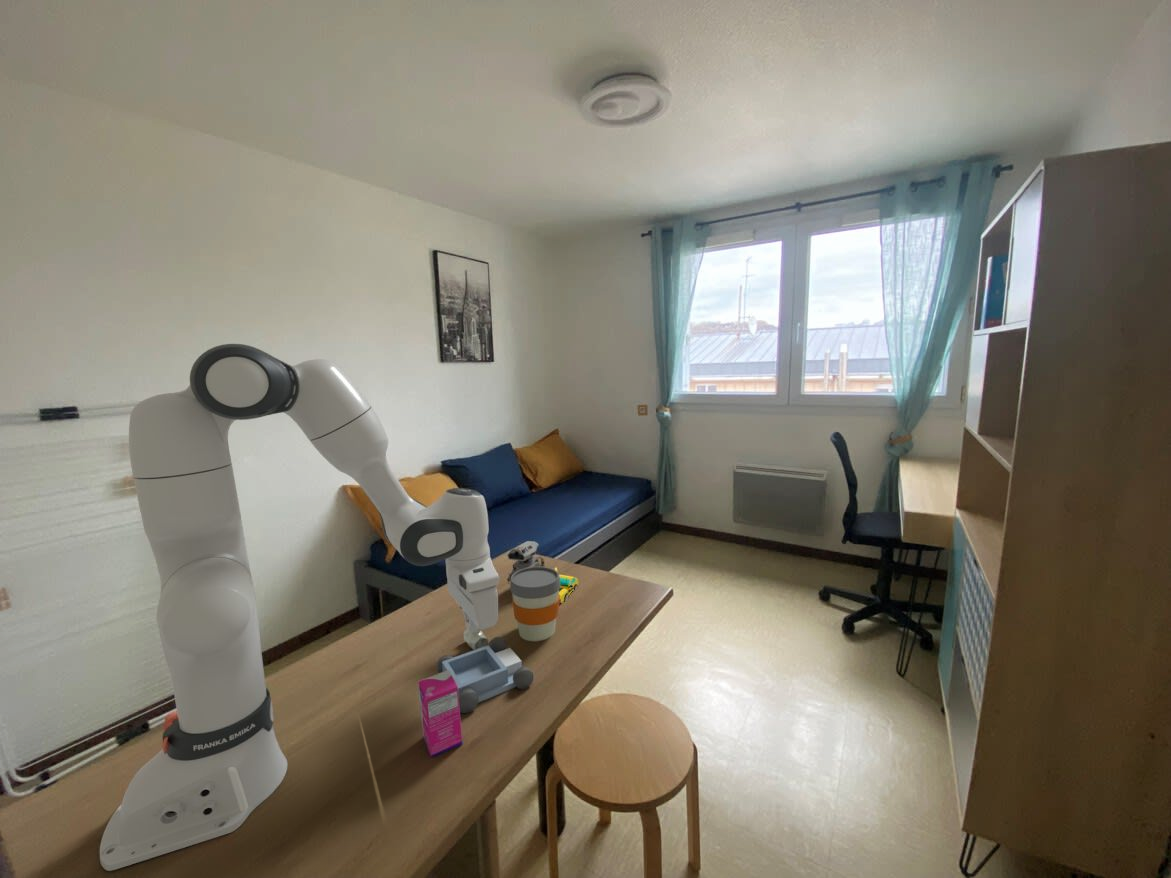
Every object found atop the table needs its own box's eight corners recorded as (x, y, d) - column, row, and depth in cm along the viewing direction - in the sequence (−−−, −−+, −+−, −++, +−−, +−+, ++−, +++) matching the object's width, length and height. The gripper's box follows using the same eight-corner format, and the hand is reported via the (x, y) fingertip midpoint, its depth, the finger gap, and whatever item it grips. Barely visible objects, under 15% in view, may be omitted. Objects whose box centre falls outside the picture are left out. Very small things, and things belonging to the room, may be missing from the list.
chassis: (459, 716, 90) (458, 696, 89) (436, 675, 102) (435, 657, 102) (533, 685, 98) (533, 666, 98) (504, 650, 111) (503, 633, 110)
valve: (468, 658, 108) (465, 609, 106) (457, 645, 113) (454, 599, 112) (494, 648, 112) (492, 601, 110) (482, 636, 117) (480, 591, 115)
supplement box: (421, 737, 85) (417, 679, 83) (454, 724, 88) (450, 668, 86) (429, 759, 80) (425, 698, 78) (463, 744, 83) (460, 685, 81)
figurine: (500, 595, 139) (498, 546, 137) (528, 581, 148) (526, 535, 145) (521, 604, 133) (519, 554, 131) (549, 589, 142) (548, 542, 140)
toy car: (558, 586, 144) (557, 560, 143) (581, 590, 141) (580, 563, 140) (540, 603, 133) (539, 576, 132) (564, 608, 130) (563, 580, 129)
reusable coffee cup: (529, 615, 127) (527, 563, 124) (570, 625, 121) (569, 570, 119) (502, 639, 115) (499, 582, 113) (545, 651, 110) (543, 591, 108)
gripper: (438, 553, 102) (442, 612, 104) (470, 588, 85) (474, 658, 87) (466, 547, 106) (469, 604, 108) (502, 579, 89) (505, 646, 91)
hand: (472, 629), depth 97 cm, fingers closed
